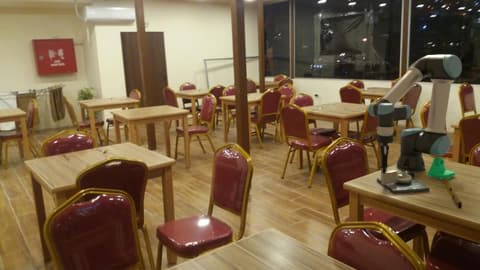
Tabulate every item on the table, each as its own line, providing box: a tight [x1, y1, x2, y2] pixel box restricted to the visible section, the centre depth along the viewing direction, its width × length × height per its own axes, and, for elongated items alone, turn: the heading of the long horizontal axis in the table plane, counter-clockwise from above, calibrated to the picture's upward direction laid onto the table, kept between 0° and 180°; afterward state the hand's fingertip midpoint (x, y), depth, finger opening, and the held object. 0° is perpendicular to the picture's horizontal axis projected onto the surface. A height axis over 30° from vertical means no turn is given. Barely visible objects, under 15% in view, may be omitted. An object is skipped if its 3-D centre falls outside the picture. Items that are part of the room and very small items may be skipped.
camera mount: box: [427, 156, 456, 180], centre depth 209 cm, size 12×8×10 cm, turn 116°
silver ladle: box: [380, 170, 412, 186], centre depth 198 cm, size 17×8×6 cm, turn 109°
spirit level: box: [442, 178, 463, 209], centre depth 185 cm, size 33×1×3 cm, turn 163°
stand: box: [376, 171, 431, 195], centre depth 199 cm, size 19×20×5 cm
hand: (383, 179), depth 200 cm, fingers closed
